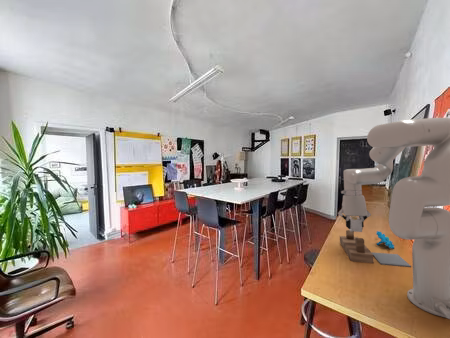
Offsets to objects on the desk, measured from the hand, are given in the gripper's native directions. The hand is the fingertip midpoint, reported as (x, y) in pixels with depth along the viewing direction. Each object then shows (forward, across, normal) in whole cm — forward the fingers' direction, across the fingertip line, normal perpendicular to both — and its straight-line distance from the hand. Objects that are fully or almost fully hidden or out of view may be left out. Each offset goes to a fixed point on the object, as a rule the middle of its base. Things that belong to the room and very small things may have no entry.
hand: (354, 228), depth 102 cm
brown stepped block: (+13, 0, +1) cm, 13 cm away
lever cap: (+1, 0, 0) cm, 1 cm away
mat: (+13, +12, -5) cm, 18 cm away
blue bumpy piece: (+13, +17, +11) cm, 24 cm away
